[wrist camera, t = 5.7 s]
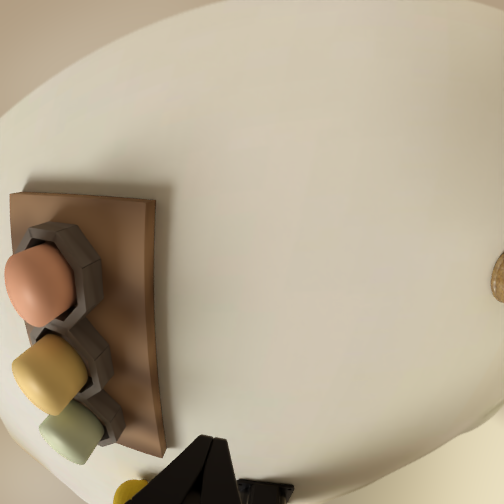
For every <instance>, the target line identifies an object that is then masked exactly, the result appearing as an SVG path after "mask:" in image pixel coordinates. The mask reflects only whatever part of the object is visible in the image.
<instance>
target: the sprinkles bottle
mask: <svg viewBox="0 0 504 504" xmlns="http://www.w3.org/2000/svg"><path fill="white" fill-rule="evenodd" d="M491 289H492V292H493V295H494V297H495V298H496V299H497V300H498V301H500V302H503V303H504V253H503V254H502V255H501V256H500V258H499V259H498V261H497V262H496V264H495V267H494V270H493V273H492V279H491Z"/></svg>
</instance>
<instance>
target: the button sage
mask: <svg viewBox="0 0 504 504" xmlns="http://www.w3.org/2000/svg"><path fill="white" fill-rule="evenodd" d="M39 431H40V433H41V435H42V437H43V438H44V440H45V441H46V442H47V443H48V444H49V445H50V446H51V447H52V448H53V449H54V450H55V451H56V452H57V453H59V454H60V455H61V456H63V457H64V458H66V459H67V460H69V461H71V462H73V463H76V464H79V465H83V464H85V463H86V461H87V460H88V458H89V457H90V455H91V453H92V452H93V450H94V449H95V447H96V446H97V444H98V443H99V441H100V440H101V438H102V437H103V435H104V428H103V425H102V424H101V422H100V421H99V419H98V418H97V417H96V416H95V415H94V414H93V413H92V412H91V411H90V410H89V409H88V408H86V407H85V406H83V405H82V404H80V403H79V402H77V401H75V400H71V401H70V402H69V404H68V405H67V406H66V407H65V408H64V409H63V411H62V412H61V413H60V414H59V415H57V416H53V415H50V414H49V416H48V417H47V418H46V419H45V420H44V421H43V422H42V424H41V425H40V426H39Z"/></svg>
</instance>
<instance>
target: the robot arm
mask: <svg viewBox="0 0 504 504" xmlns="http://www.w3.org/2000/svg"><path fill="white" fill-rule="evenodd" d="M293 491H294V486H293V485H283V484H271V483H261V482H253V481H245V480H237V481H236V478H235V474H234V469H233V465H232V461H231V456H230V452H229V447H228V442H227V440H226V439H222V438H217V437H215V438H214V439H213V437H212V436H207V435H199V436H198V437H197V438H196V439H195V440H194V441H193V442H192V443H191V444H190V445H189V446H188V447H187V448H186V449H185V450H184V451H183V452H182V453H181V454H180V455H179V456H178V457H177V458H175V459H174V460H173V461H172V462H171V463H170V464H169V465H168V466H167V467H166V468H165V469H164V470H163V471H161V472H160V473H159V474H158V475H157V476H156V477H155V478H154V479H152V480H151V481H150V482H149V483H148V484H147V485H146V486H145V487H143V488H142V489H141V490H140V491H139V492H138V493H136V494H135V495H134V496H133V497H132V500H131V499H129V500H128V501H127V502H125V503H124V504H287V502H288V500H289V498H290V497H291V495H292V493H293Z"/></svg>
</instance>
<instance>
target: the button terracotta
mask: <svg viewBox="0 0 504 504" xmlns="http://www.w3.org/2000/svg"><path fill="white" fill-rule="evenodd" d="M5 285H6V289H7V293H8V295H9V298H10V300H11V303H12V304H13V306H14V308H15V310H16V311H17V312H18V314H19V315H20V316H21V317H22V318H23V319H24V320H25V321H26V322H27V323H29V324H30V325H32V326H35V327H43V326H45V325H46V324H48V323H49V322H51V321H52V320H53V319H55V318H56V317H57V316H59V315H60V314H62V313H63V312H64V311H66V310H67V309H69V308H70V307H72V306H73V305H74V304H76V303H77V295H76V286H75V276H74V270H73V269H72V268H71V266H70V265H69V263H68V262H67V260H66V259H65V258H64V256H63V255H62V253H61V252H60V250H59V249H58V247H57V246H56V244H55V243H54V242H53V241H48V242H45V243H42V244H40V245H37V246H34V247H32V248H29V249H27V250H24V251H21V252H19V253H16V254H14V255H12V256H11V257H10V258H9V259H8V261H7V263H6V266H5Z"/></svg>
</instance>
